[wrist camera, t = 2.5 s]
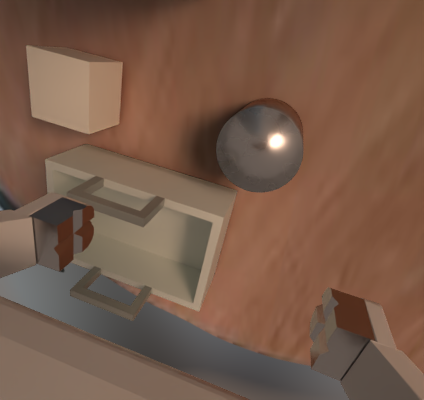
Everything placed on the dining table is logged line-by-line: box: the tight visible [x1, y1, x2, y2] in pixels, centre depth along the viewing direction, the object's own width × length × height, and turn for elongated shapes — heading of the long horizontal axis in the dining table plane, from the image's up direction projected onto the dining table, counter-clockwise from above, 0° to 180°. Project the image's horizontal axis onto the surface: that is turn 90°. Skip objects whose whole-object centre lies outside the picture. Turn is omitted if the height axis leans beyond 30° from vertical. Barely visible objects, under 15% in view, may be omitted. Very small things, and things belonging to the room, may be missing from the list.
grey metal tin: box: [216, 98, 303, 192], centre depth 24 cm, size 6×6×6 cm
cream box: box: [26, 45, 123, 134], centre depth 27 cm, size 6×6×5 cm
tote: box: [45, 144, 237, 321], centre depth 30 cm, size 18×12×10 cm, turn 78°
